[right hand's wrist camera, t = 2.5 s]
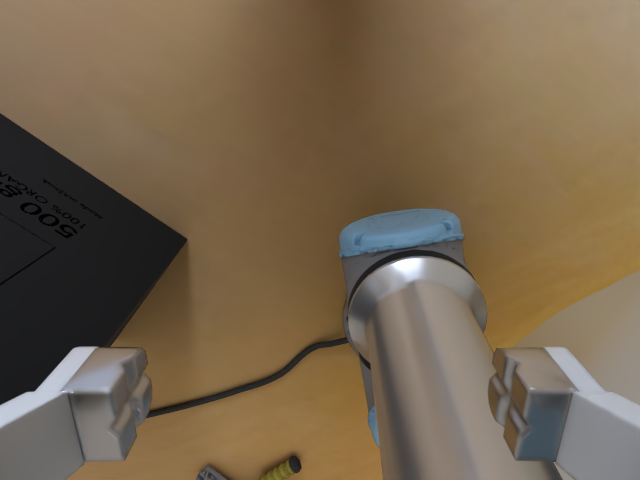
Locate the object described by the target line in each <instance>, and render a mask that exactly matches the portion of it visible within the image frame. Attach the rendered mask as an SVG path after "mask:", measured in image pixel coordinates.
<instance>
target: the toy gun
mask: <svg viewBox="0 0 640 480" xmlns="http://www.w3.org/2000/svg"><path fill="white" fill-rule="evenodd" d="M301 468H302V467H301V463H300V460H299V459H298V458H296V457H291V458H290V459H288V460H287V461H286V463H282V464H281V465H280V466H279V467H278V466H277V467H275V468H274V470H272V471H269V472H267V474H263V475H262V476H260V478H259V480H283V479H284V478H286V479H287V478H288V477H289V476H290V475H293V474H295V473H298V472H299V471H300V469H301ZM206 471H207V473H206V474H205V472H206ZM208 473H210V474H211V477H209V476H208ZM200 475H201V476H200ZM196 480H227V479H226V478H224V477H223V476H221V475H220V473H217V472H216V471H215V470H213V469H212V468H210V466H209V465H208V466H206V467H205V469H204V472H202V471H201V472H200V473H199V474H198V476H197V478H196Z"/></svg>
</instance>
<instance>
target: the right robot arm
mask: <svg viewBox="0 0 640 480" xmlns="http://www.w3.org/2000/svg"><path fill="white" fill-rule="evenodd" d="M147 364H148V360H147V355H146V351H145V350H144V349H143V348H137V347H76V348H73V349H72V350H71V351H70V353H69V354H68V355H67V356H66V357H65V358H64V359H63V360H62V361H61V363H60V364H59V365H58V366H57V367H56V368H55V369H54V370H53V372H52V373H51V374H50V375H49V376H48V377H47V378H46V379H45V380H44V382H43V383H42V384H41V385H40V386H39V387H38V388H37V389H36V390H35V392H26V393H24V394H22V395H20V396H18V397H16V398H14V399H12V400H10V401H8V402H6V403H4V404H2V405H0V480H66V479H67V478H68V477H69V476H71V475H72V474H73V473H74V472H75V471H77V470H78V469H79V468H80V467H81V466H83V465H84V462H98V461H125V459H126V457H127V455H128V453H129V451H130V449H131V447H132V445H133V443H134V441H135V439H136V437H137V434H136V427H137V426H138V425H140V424H141V423H143V422H144V421H145V419H146V417H147V415H148V413H149V410H150V405H151V401H152V384H151V379H150V378H149V377H148V376H147V375H146V374H145V373H144V372H143V371H144V370H145V368H146V366H147ZM492 364H493V366H494V368H495V370H496V371H497V372H496V373H495V374H494V375H493V376H492V377H491V378H490V379H489V385H488V401H489V406H490V410H491V413H492V415H493V417H494V419H495V421H496V422H497V423H499V424H500V425H502V426H503V427H504V434H503V437H504V439H505V441H506V443H507V445H508V447H509V449H510V451H511V453H512V455H513V457H514V459H515V461H542V462H556V464H557V465H558V466H559V467H560V468H561V469H562V470H564V471H565V472H566V473H567V474H568V475H570V476H571V477H572V478H573V479H574V480H640V405H638V404H636V403H634V402H632V401H630V400H628V399H626V398H624V397H622V396H620V395H618V394H616V393H614V392H605V391H604V389H603V388H602V387H601V386H600V385H599V384H598V383H597V382H596V381H595V379H594V378H593V377H592V376H591V375H590V374H589V373H588V372H587V370H586V369H585V368H584V367H583V366H582V365H581V364H580V363H579V361H578V360H577V359H576V358H575V357H574V356H573V355H572V354H571V353H570V351H569V350H568V349H566V348H564V347H562V346H557V347H539V348H496V350H495V352H494V354H493V360H492Z"/></svg>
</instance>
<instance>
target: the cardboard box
mask: <svg viewBox="0 0 640 480" xmlns="http://www.w3.org/2000/svg"><path fill="white" fill-rule="evenodd" d="M0 171H1V174H2V176H3V177H1V174H0V405H2V404H4V403H6V402H8V401H10V400H12V399H14V398H16V397H18V396H20V395H22V394H24V393H26V392H35V390H36V389H37V388H38V387H39V386H40V385H41V384H42V383H43V382H44V380H45V379H46V378H47V377H48V376H49V375H50V374H51V373H52V372H53V370H54V369H55V368H56V367H57V366H58V365H59V364H60V363H61V361H62V360H63V359H64V358H65V357H66V356H67V355H68V354H69V353H70V351H71V350H72V349H73V348H76V347H110V346H111V345H112V344H113V342H114V341H115V340H116V338H117V337H118V335H119V334H120V333H121V331H122V330H123V328H124V327H125V326H126V324H127V323H128V322H129V320H130V319H131V317H132V316H133V315H134V313H135V312H136V310H137V309H138V308H139V306H140V305H141V303H142V302H143V301H144V299H145V298H146V297H147V295H148V294H149V292H150V291H151V290H152V288H153V287H154V285H155V284H156V283H157V281H158V280H159V278H160V277H161V276H162V274H163V273H164V271H165V270H166V269H167V267H168V266H169V265H170V263H171V262H172V260H173V259H174V258H175V256H176V255H177V253H178V252H179V251H180V249H181V248H182V246H183V245H184V244H185V242H186V241H187V240H188V239H186V238H185V237H183V236H182V235H180V234H179V233H177V232H176V231H174V230H173V229H171V228H170V227H168V226H167V225H165V224H164V223H162V222H161V221H159V220H158V219H156V218H155V217H153V216H152V215H150V214H149V213H147V212H146V211H144V210H143V209H142V208H140V207H139V206H137V205H136V204H134V203H133V202H131V201H130V200H128V199H127V198H125V197H124V196H122V195H121V194H119V193H118V192H116V191H115V190H113V189H112V188H110V187H109V186H107V185H106V184H104V183H103V182H101V181H100V180H98V179H97V178H95V177H94V176H92V175H91V174H89V173H88V172H86V171H85V170H83V169H82V168H81V167H79V166H78V165H76V164H75V163H73V162H72V161H70V160H69V159H67V158H66V157H64V156H63V155H61V154H60V153H58V152H57V151H55V150H54V149H52V148H51V147H49V146H48V145H46V144H45V143H43V142H42V141H40V140H39V139H37V138H36V137H34V136H33V135H31V134H30V133H28V132H27V131H25V130H24V129H22V128H21V127H20V126H18V125H17V124H15V123H14V122H12V121H11V120H9V119H8V118H6V117H5V116H3V115H2V114H0ZM5 174H6V176H5ZM9 177H10V178H11V179H13V180H11V179H10V181H9V180H8V178H9ZM17 181H18V182H17ZM20 183H21V184H20ZM6 184H7V185H8V186H9V189H10V188H11V190H9V189H7V188H8V187H7V186H5V185H6ZM15 185H17V187H16V186H15ZM24 185H25V186H24ZM18 187H19V188H18ZM26 187H27V188H26ZM3 189H5V190H7V191H5V190H3ZM21 189H23V190H21ZM24 189H26V190H24ZM27 189H28V190H27ZM30 189H31V190H32V191H33V193H30V192H32V191H31V190H30ZM13 190H14V192H17V193H16V194H15V195H14V193H13ZM8 191H9V192H10V193H12V194H9V192H8ZM27 191H28V193H29V194H31V195H28V194H27ZM18 192H19V193H20V194H19V193H18ZM34 193H35V195H34ZM35 196H36V197H35ZM39 196H41V197H39ZM44 198H45V199H44ZM37 199H38V200H37ZM46 199H47V201H46V203H44V202H45V200H46ZM27 202H29V203H30V204H29V203H27ZM42 202H43V203H42ZM20 206H22V208H21V209H20ZM24 210H25V212H23V211H24ZM28 212H31V213H29V214H27V213H28ZM32 213H33V215H32ZM3 215H4V216H6V217H7V218H6V217H4V216H3ZM8 218H9V219H8ZM38 219H41V220H40V221H39V220H38ZM42 221H43V224H42ZM14 222H15V223H14ZM16 223H17V224H19V225H20V226H19V225H17V224H16ZM49 224H50V225H51V226H49ZM26 229H27V230H28V231H27V230H26ZM29 231H30V232H32V233H30V232H29ZM37 236H38V237H40V238H41V239H43V240H41V239H40V238H38V237H37Z"/></svg>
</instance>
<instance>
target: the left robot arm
mask: <svg viewBox="0 0 640 480" xmlns="http://www.w3.org/2000/svg"><path fill="white" fill-rule="evenodd" d="M462 239H464V234H463V233H462V229H461V223H460V220H459V218H458V217H457V216H456V215H455V214H454V213H452V212H450V211H447V210H442V209H429V208H421V209H406V210H398V211H391V212H386V213H381V214H376V215H372V216H369V217H365V218H362V219H359V220H357V221H354V222H352V223H350V224H349V225H347V226H346V227H345V228H344V229H343V230H342V231H341V233H340V236H339V245H340V252H339V257H340V258H342V264H343V269H344V275H345V282H346V290H347V299H346V301H345V304H344V308H343V326H344V331H345V334H346V337H345V338H341V339H337V340H332V341H326V342H319V343H316V344H314V345H312V346H310V347H308V348H306V349H305V350H304V351H302V352H301V353H300V354H299V355H298V356H297V357H296V358H295V359H294V360H293V361H292V362H290V363H289V364H288V365H287V366H286V367H285V368H284V369H282V370H281V371H279V372H278V373H276V374H274V375H272V376H270V377H268V378H266V379H263V380H261V381H258V382H255V383H251V384H248V385H245V386H241V387H238V388H235V389H232V390H229V391H226V392H223V393H220V394H216V395H213V396H210V397H206V398H203V399H199V400H195V401H192V402H188V403H184V404H180V405H176V406H172V407H168V408H164V409H160V410H155V411H151V412H149V413H148V415H147V417H146V418H149V417H153V416H158V415H162V414H166V413H170V412H174V411H178V410H182V409H186V408H190V407H194V406H197V405H201V404H205V403H208V402H212V401H215V400H218V399H222V398H225V397H228V396H231V395H234V394H237V393H240V392H244V391H247V390H250V389H254V388H257V387H260V386H263V385H265V384H268V383H270V382H272V381H274V380H276V379H278V378H280V377H282V376H283V375H285V374H286V373H287V372H289V371H290V370H291V369H292V368H293V367H294V366H295V365H296V364H297V363H298V362H299V361H300V360H302V359H303V358H304V357H305V356H306V355H307V354H309V353H310V352H312V351H314V350H316V349H319V348H324V347H332V346H336V345H341V344H345V343H349V344H350V345H351V347H352V348H353V350H354V351H355V352H356V354H357V355H358V356H359V359H360V364H361V370H362V376H363V381H364V387H365V393H366V399H367V405H368V412H369V415H368V425H369V427H370V429H371V430H372V435H373V438H374V441H375V442H376V444H377V446H378V447H379V448H380V456H381V465H382V474H383V480H563V479H562V477H561V476H560V474H559V472H558V470H557V468H556V466H555V465H554V463H553V462H542V461H515V459H514V457H513V455H512V453H511V451H510V449H509V447H508V445H507V443H506V441H505V439H504V437H503V434H504V427H503V426H502V425H500V424H499V423H497V422H496V421H495V419H494V417H493V415H492V413H491V410H490V406H489V401H488V385H489V379H490V378H491V377H492V376H493V375H494V374H495V373H496V372H497V371H496V370H495V368H494V366H493V364H492V360H493V354H494V352H493V351H492V349H491V347H490V345H489V343H488V341H487V340H486V338H485V336H484V334H483V333H484V330H485V327H486V323H487V308H486V303H485V299H484V296H483V294H482V291H481V289H480V287H479V285H478V284H477V282H476V280H475V279H474V277H473V276H472V274H471V273H470V271H469V270H468V268H467V266H466V263H465V259H464V253H463V241H462Z"/></svg>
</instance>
